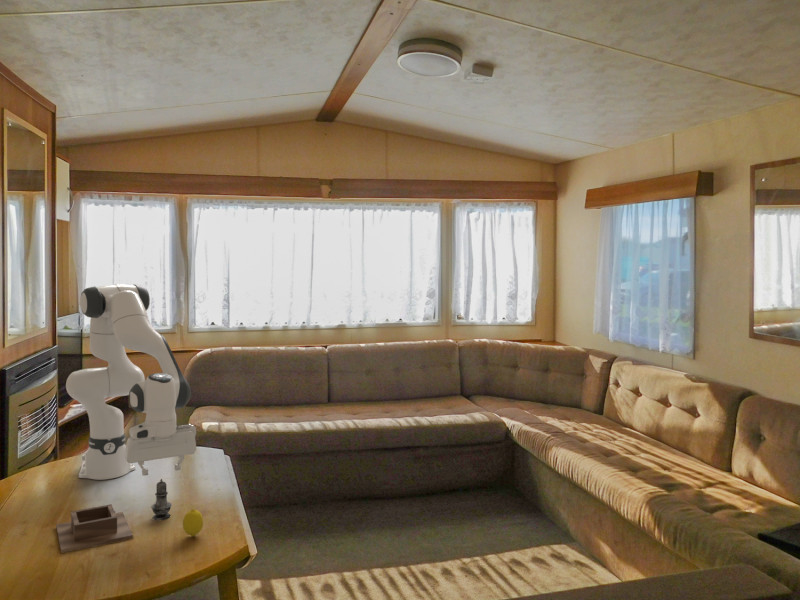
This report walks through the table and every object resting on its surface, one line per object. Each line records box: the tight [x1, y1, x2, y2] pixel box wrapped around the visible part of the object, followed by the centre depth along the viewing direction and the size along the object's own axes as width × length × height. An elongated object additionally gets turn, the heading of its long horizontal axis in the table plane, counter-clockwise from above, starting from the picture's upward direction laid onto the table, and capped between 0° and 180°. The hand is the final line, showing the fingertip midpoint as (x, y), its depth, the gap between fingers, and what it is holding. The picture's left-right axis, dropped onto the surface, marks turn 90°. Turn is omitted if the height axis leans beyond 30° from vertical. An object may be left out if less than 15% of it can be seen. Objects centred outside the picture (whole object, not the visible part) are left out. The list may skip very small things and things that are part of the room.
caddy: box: [55, 504, 134, 554], centre depth 181 cm, size 18×18×6 cm
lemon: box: [182, 508, 204, 537], centre depth 181 cm, size 6×6×8 cm
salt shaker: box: [150, 478, 172, 521], centre depth 193 cm, size 6×6×12 cm
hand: (161, 472), depth 192 cm, fingers open, 8 cm apart
